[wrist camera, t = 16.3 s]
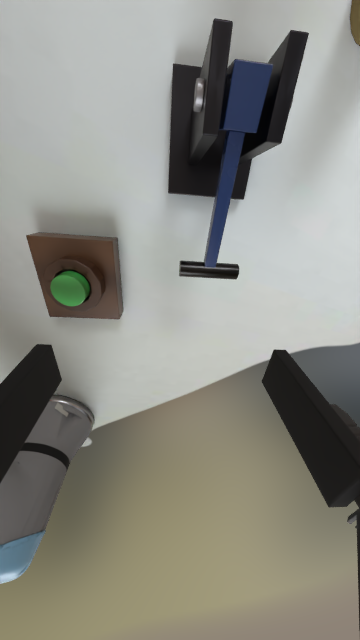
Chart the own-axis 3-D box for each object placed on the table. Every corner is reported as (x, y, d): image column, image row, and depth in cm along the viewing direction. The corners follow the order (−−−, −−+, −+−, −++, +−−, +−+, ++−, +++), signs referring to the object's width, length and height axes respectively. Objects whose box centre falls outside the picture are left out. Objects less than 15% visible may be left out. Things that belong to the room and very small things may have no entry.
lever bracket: (240, 199, 25) (295, 198, 14) (168, 193, 24) (167, 186, 13) (263, 83, 20) (376, -61, 9) (172, 71, 19) (177, -99, 8)
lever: (232, 272, 23) (237, 284, 21) (178, 269, 22) (179, 281, 20) (288, 76, 13) (306, 68, 11) (196, 64, 13) (200, 53, 11)
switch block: (123, 310, 32) (117, 325, 28) (58, 308, 32) (42, 323, 28) (117, 237, 27) (108, 243, 23) (38, 232, 26) (15, 237, 22)
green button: (92, 301, 27) (87, 307, 25) (61, 299, 26) (54, 305, 25) (87, 271, 25) (82, 276, 23) (53, 269, 24) (46, 274, 23)
